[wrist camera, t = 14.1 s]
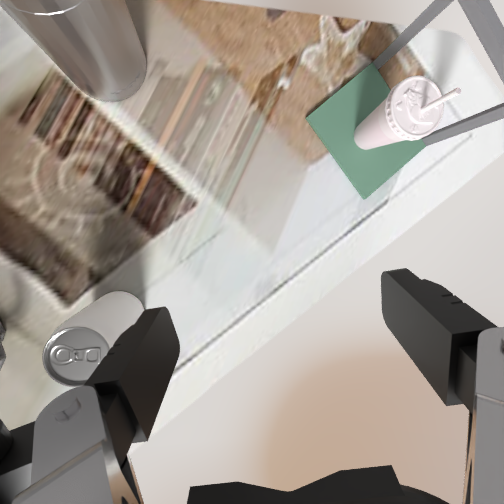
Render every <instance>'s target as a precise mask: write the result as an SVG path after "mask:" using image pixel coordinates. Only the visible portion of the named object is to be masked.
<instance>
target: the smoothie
mask: <svg viewBox="0 0 504 504" xmlns="http://www.w3.org/2000/svg"><path fill="white" fill-rule="evenodd" d="M460 93H461V89H460V88H456V89H454V90H452V91H451V92H449V93H447V94H445V95H443V96H442V94H441V92H440V90H439V88H438V87H437V85H436V84H435V83H434V82H433V81H431V80H430V79H428V78H426V77H424V76H411V77H408V78H406V79H404V80H403V81H401V82H399V83H398V84H397V85H395V86H394V87H393V88H392V90H391V91H390V93H389V94H388V97H387V98H386V99H385V100H384V101H383V102H382V103H381V104H380V105H379V106H378V107H377V108H376V109H375V110H374V111H373V112H372V113H371V114H370V115H368V116H367V117H366V118H365V119H364V120H363V121H362V122H361V123H360V124H359V125H358V126H357V127H356V129H355V132H354V140H355V143H356V144H357V146H358V147H359V148H361V149H364V150H368V149H372V148H376V147H380V146H384V145H388V144H392V143H396V142H400V141H404V140H410V141H413V140H419V139H421V138H423V137H425V136H427V135H429V134H431V133H432V132H433V131H434V130H435V129H436V128H437V127H438V125H439V123H440V121H441V119H442V116H443V111H444V103H443V102H445V101H446V100H448V99H450V98H452V97H454V96H456V95H458V94H460Z"/></svg>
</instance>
